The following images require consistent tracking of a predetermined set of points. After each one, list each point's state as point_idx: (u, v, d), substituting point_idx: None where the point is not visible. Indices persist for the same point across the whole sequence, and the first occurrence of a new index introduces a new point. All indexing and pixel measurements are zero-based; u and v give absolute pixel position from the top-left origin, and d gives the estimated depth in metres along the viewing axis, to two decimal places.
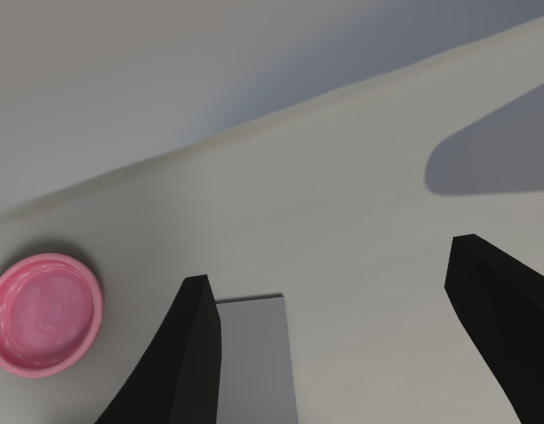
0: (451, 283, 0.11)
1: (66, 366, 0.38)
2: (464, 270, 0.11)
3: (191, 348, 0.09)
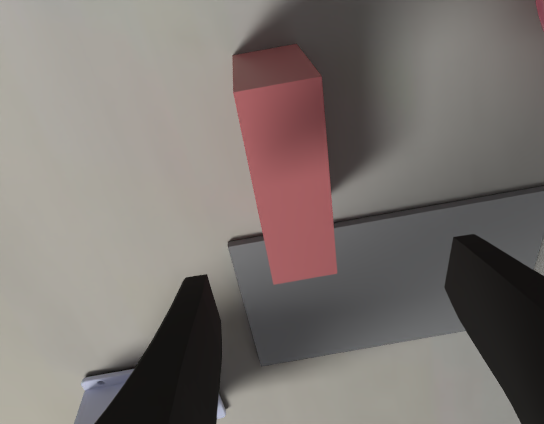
0: (451, 283, 0.11)
1: None
2: (464, 270, 0.11)
3: (191, 348, 0.09)
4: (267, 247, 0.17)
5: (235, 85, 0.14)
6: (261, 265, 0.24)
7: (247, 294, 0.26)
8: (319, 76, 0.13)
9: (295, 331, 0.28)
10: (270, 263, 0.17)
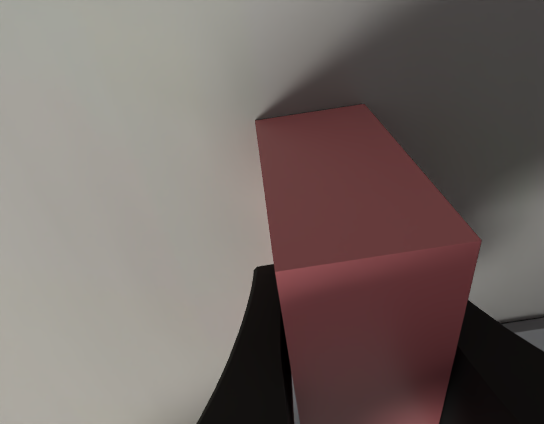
0: None
1: None
2: None
3: (281, 334, 0.09)
4: None
5: (275, 237, 0.06)
6: None
7: None
8: (475, 239, 0.06)
9: None
10: None
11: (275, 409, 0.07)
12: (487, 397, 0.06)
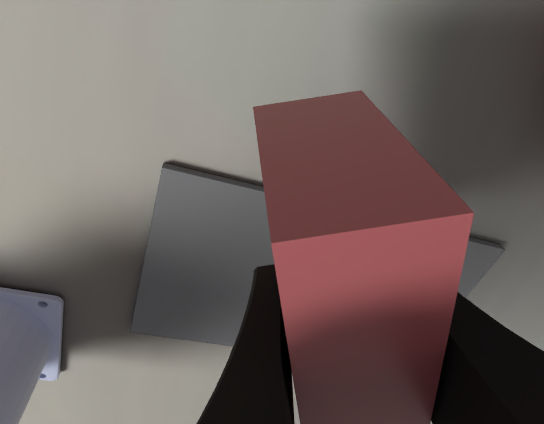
0: None
1: None
2: None
3: (281, 335, 0.09)
4: None
5: (272, 212, 0.06)
6: (189, 208, 0.20)
7: (156, 237, 0.20)
8: (468, 212, 0.06)
9: (189, 304, 0.23)
10: None
11: (275, 409, 0.07)
12: (486, 398, 0.06)
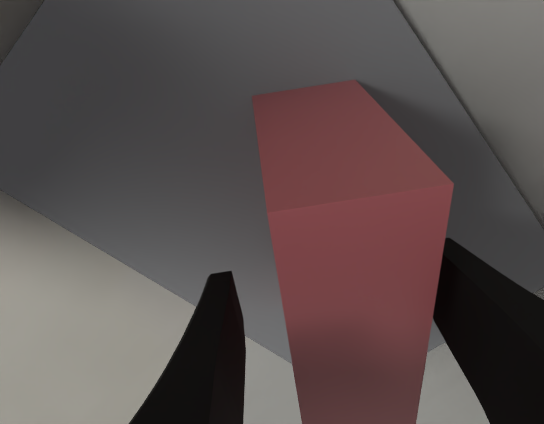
0: None
1: None
2: None
3: (222, 343, 0.09)
4: None
5: (268, 187, 0.07)
6: None
7: None
8: (448, 183, 0.06)
9: (98, 147, 0.12)
10: None
11: (198, 420, 0.07)
12: None
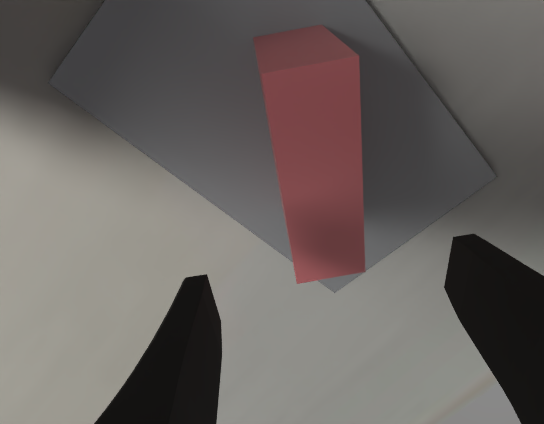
0: (451, 283, 0.11)
1: None
2: (464, 270, 0.11)
3: (191, 348, 0.09)
4: (292, 244, 0.16)
5: (262, 67, 0.12)
6: None
7: None
8: (356, 56, 0.12)
9: (151, 76, 0.17)
10: (294, 261, 0.16)
11: None
12: None
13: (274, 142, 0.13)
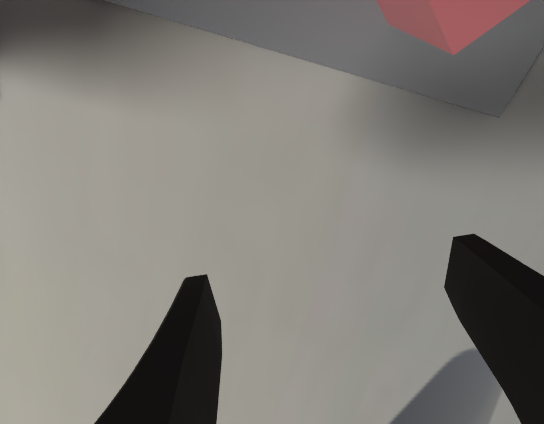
0: (451, 283, 0.11)
1: None
2: (464, 270, 0.11)
3: (191, 348, 0.09)
4: None
5: None
6: None
7: None
8: None
9: None
10: (438, 16, 0.11)
11: None
12: None
13: None
